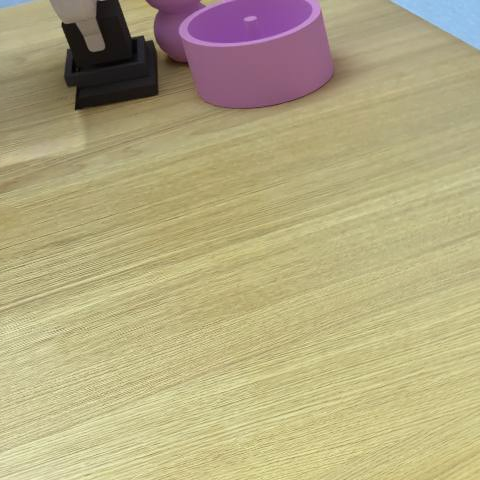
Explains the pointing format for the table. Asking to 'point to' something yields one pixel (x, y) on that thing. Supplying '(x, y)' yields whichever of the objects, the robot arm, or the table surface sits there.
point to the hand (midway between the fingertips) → (98, 37)
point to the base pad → (115, 77)
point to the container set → (247, 48)
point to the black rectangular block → (113, 33)
